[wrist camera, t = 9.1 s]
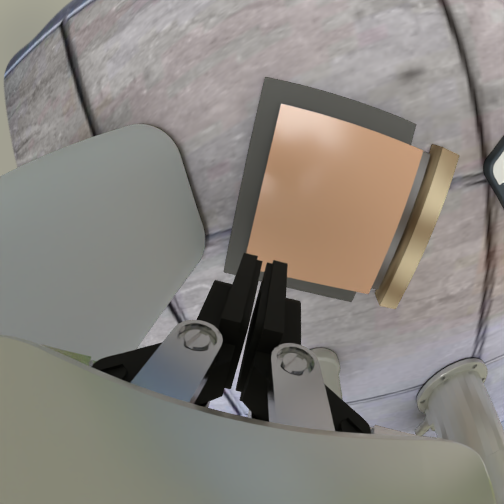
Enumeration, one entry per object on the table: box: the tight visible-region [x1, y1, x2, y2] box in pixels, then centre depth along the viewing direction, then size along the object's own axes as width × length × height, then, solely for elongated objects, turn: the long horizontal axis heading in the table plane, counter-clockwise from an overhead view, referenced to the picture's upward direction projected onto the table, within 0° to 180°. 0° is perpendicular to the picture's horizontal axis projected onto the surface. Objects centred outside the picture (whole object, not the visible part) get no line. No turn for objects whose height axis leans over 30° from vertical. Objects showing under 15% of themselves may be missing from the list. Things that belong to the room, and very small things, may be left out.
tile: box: [246, 104, 423, 294], centre depth 24 cm, size 1×14×12 cm
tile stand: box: [371, 144, 459, 309], centre depth 24 cm, size 16×3×2 cm, turn 168°
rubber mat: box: [224, 77, 416, 302], centre depth 25 cm, size 18×13×1 cm
